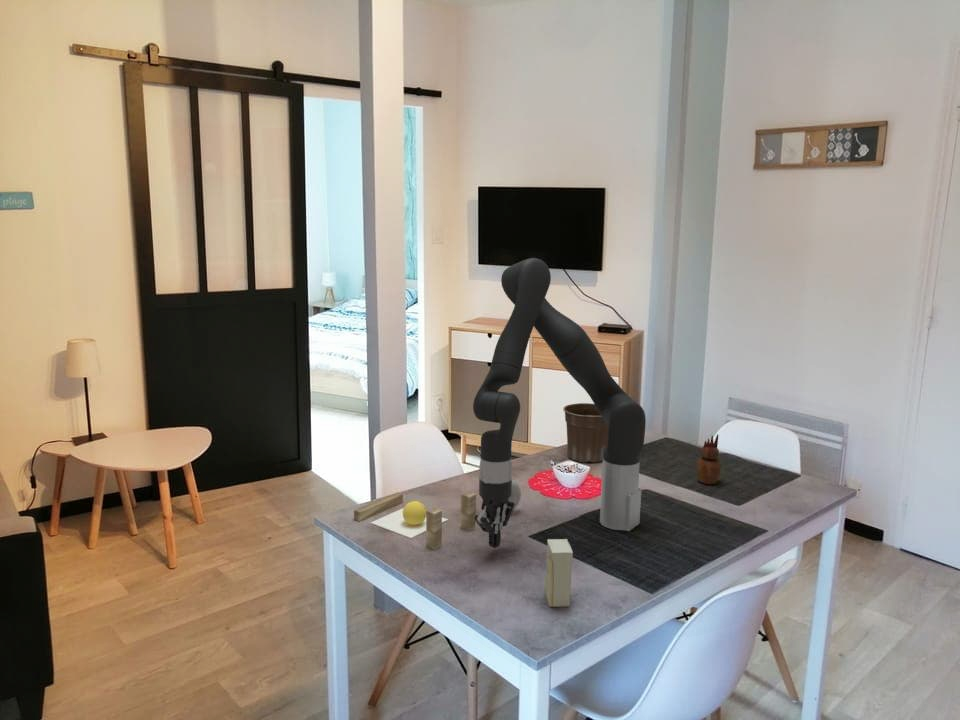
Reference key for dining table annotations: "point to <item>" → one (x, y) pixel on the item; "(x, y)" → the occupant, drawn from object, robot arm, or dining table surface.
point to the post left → (434, 528)
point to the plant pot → (585, 432)
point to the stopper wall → (378, 506)
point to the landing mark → (401, 524)
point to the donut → (515, 494)
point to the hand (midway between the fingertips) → (494, 546)
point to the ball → (414, 513)
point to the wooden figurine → (709, 463)
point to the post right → (468, 511)
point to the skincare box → (558, 572)
